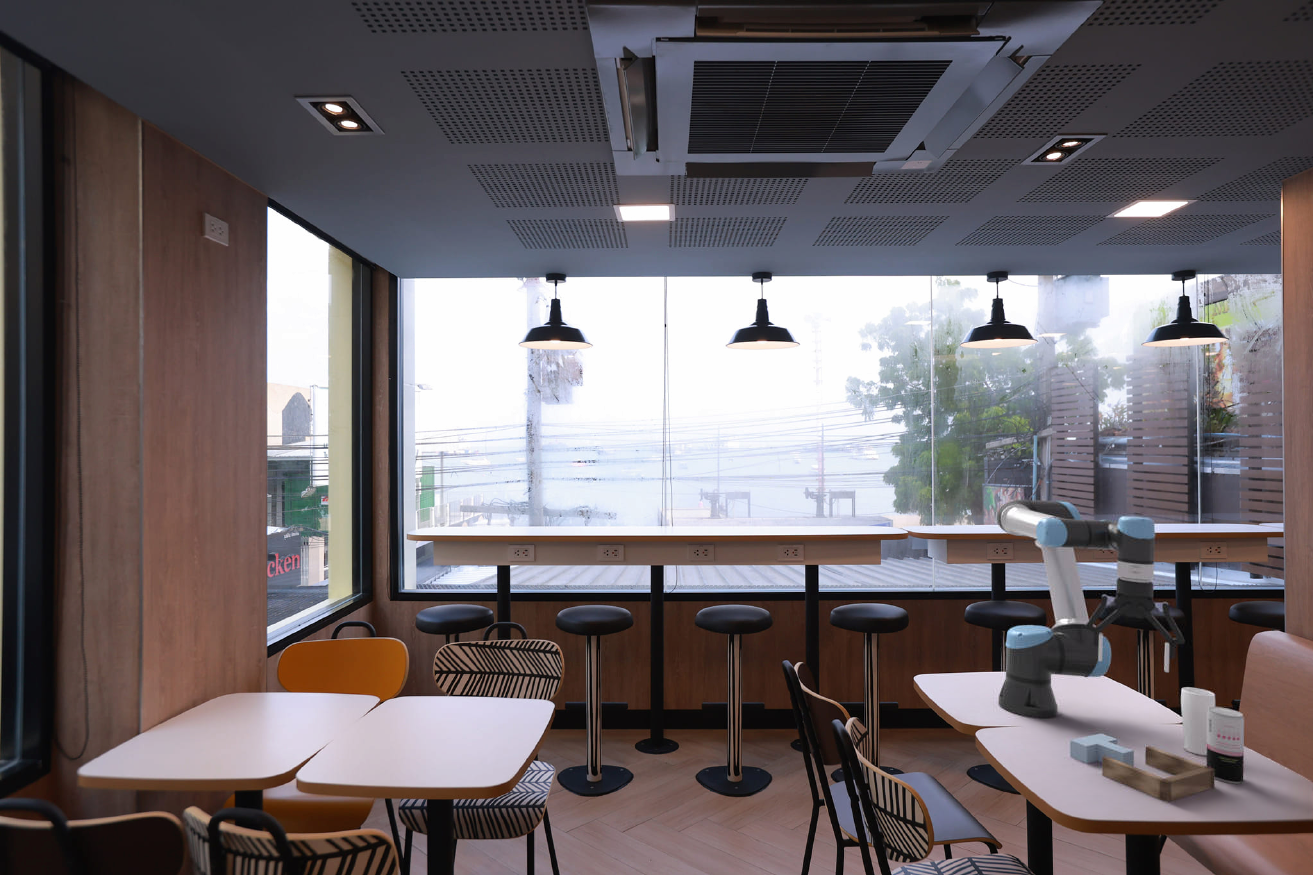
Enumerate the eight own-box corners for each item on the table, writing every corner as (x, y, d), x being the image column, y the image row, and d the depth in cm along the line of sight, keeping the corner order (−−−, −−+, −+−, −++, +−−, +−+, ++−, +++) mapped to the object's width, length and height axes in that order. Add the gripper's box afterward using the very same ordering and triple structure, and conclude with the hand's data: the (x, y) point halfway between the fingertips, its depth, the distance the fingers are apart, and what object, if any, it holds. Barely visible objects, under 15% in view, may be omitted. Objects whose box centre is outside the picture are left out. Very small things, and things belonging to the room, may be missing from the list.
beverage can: (1205, 768, 165) (1206, 704, 166) (1241, 776, 161) (1242, 710, 162) (1207, 778, 160) (1208, 711, 160) (1244, 786, 156) (1245, 718, 156)
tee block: (1070, 756, 169) (1070, 740, 169) (1101, 749, 174) (1101, 733, 175) (1112, 773, 160) (1112, 755, 160) (1143, 765, 165) (1143, 748, 166)
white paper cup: (1220, 759, 171) (1221, 697, 172) (1189, 755, 172) (1190, 694, 173) (1205, 748, 178) (1205, 688, 178) (1174, 745, 179) (1175, 685, 180)
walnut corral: (1102, 774, 159) (1102, 757, 159) (1149, 762, 167) (1149, 745, 167) (1167, 801, 147) (1167, 782, 147) (1214, 787, 155) (1214, 769, 155)
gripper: (1075, 574, 178) (1073, 658, 177) (1199, 588, 164) (1197, 679, 164) (1077, 570, 184) (1075, 651, 184) (1196, 584, 170) (1194, 671, 170)
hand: (1132, 665), depth 174 cm, fingers open, 13 cm apart
